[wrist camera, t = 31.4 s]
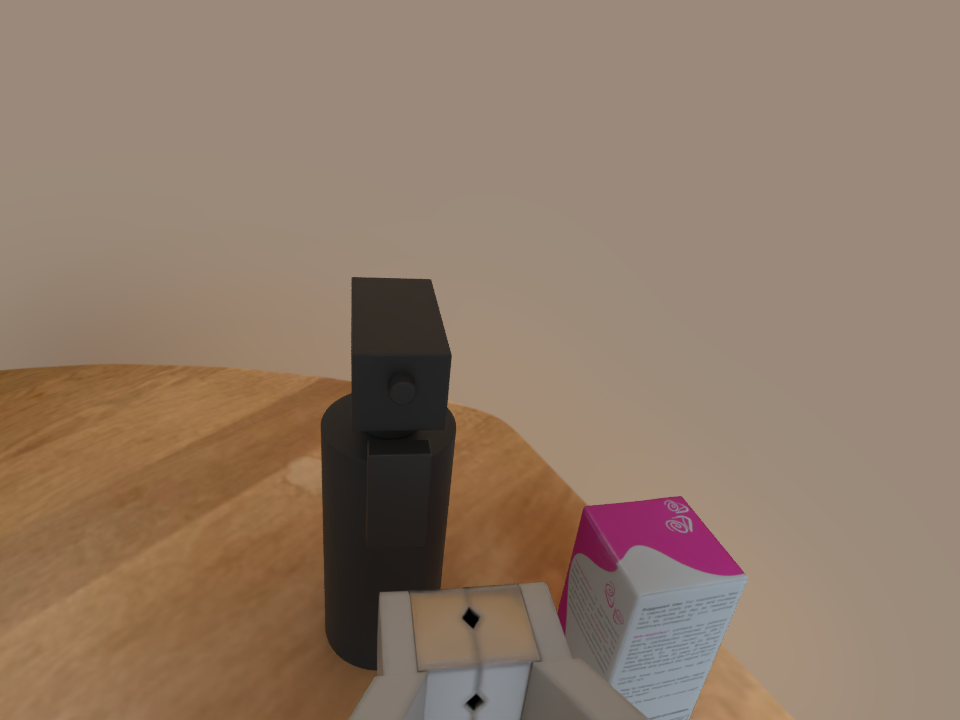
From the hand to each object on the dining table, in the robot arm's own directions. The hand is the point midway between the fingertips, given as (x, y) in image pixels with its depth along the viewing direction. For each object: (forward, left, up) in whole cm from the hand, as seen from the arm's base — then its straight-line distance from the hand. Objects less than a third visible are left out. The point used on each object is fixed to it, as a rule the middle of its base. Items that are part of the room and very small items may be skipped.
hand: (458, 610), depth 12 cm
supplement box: (+12, -12, -23) cm, 29 cm away
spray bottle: (+17, 0, -23) cm, 28 cm away
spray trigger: (+13, 0, -11) cm, 16 cm away
